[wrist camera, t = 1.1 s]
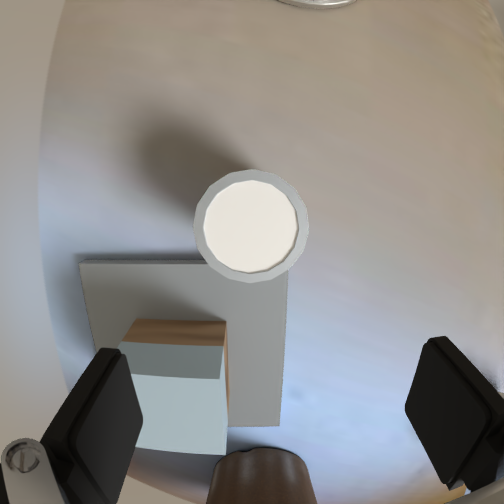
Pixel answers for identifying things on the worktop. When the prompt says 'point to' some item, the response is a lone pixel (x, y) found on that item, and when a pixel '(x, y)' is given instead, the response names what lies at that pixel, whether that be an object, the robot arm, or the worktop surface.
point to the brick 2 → (180, 396)
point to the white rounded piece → (251, 226)
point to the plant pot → (261, 479)
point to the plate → (199, 309)
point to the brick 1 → (182, 336)
